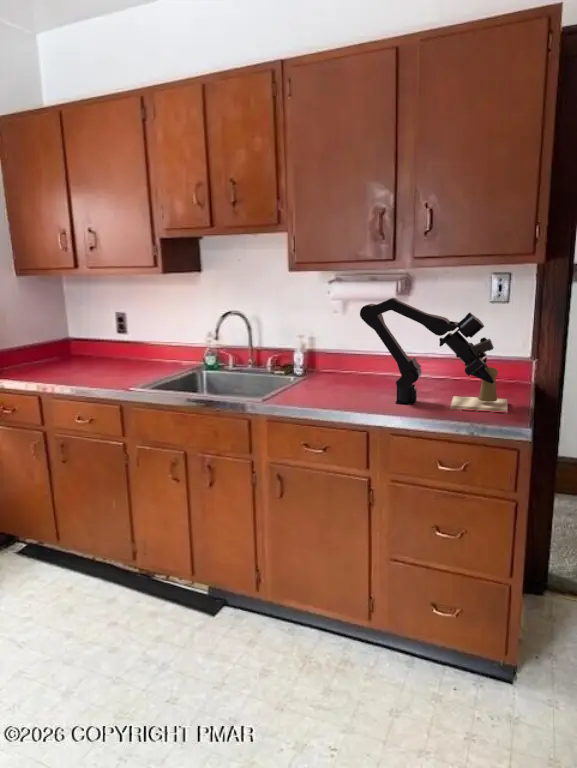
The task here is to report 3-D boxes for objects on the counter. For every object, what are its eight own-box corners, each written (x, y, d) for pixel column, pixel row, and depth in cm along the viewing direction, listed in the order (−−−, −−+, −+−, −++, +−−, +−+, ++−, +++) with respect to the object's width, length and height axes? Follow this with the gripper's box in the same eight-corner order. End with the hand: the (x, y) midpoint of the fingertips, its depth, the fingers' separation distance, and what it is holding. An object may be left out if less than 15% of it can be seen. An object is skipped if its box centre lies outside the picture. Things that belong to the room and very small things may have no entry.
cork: (500, 401, 190) (502, 369, 187) (483, 402, 189) (485, 369, 187) (492, 396, 196) (494, 365, 193) (475, 397, 195) (477, 366, 193)
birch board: (450, 409, 192) (450, 405, 192) (453, 400, 204) (453, 396, 204) (507, 413, 186) (507, 408, 186) (506, 403, 198) (507, 399, 198)
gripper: (477, 334, 180) (512, 370, 179) (481, 327, 197) (513, 360, 196) (450, 357, 185) (484, 393, 183) (456, 348, 202) (487, 380, 200)
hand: (493, 380), depth 191 cm, fingers closed on cork, 5 cm apart
